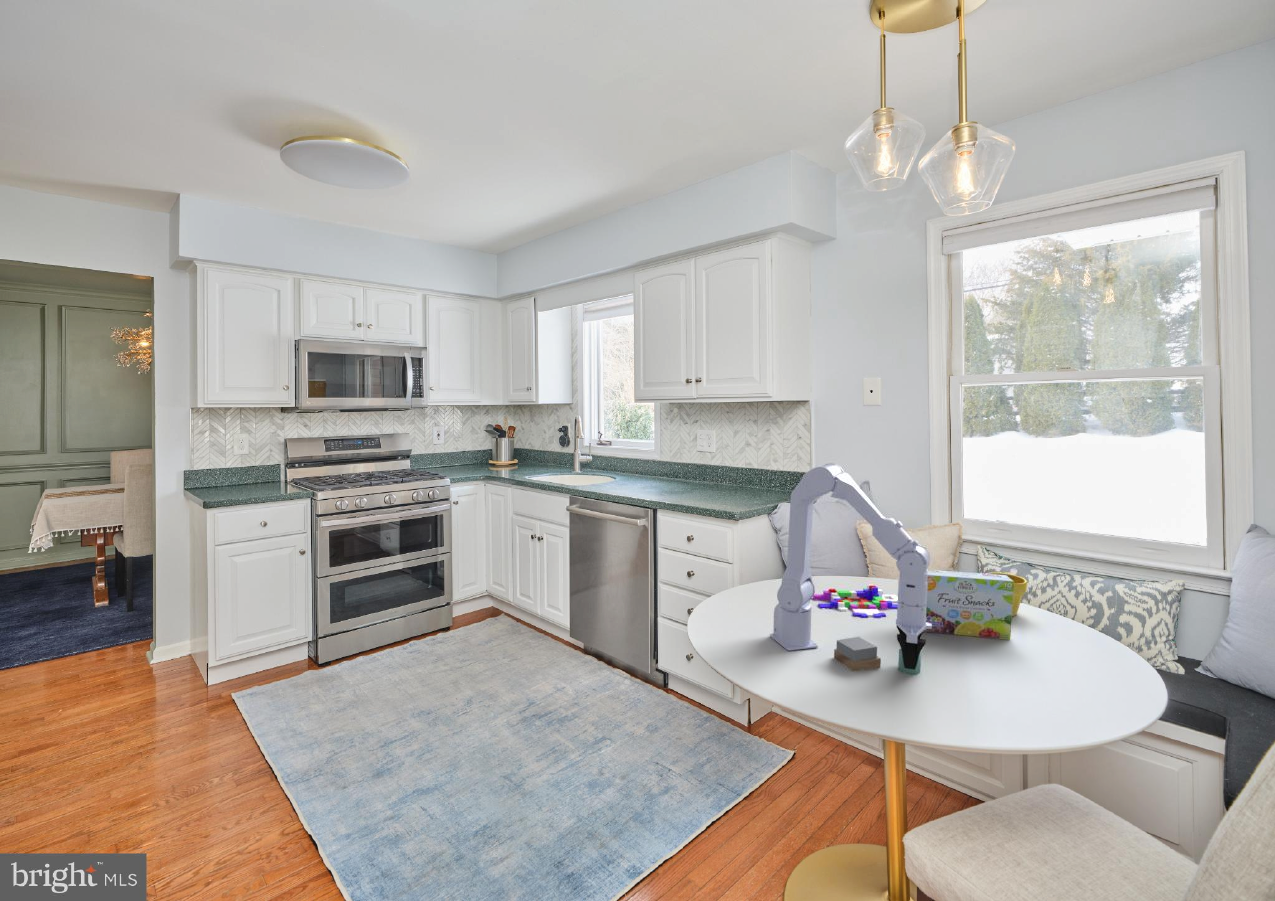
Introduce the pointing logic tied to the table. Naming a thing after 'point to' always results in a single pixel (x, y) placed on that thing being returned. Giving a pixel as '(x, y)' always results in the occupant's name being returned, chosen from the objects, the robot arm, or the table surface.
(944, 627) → the snack box
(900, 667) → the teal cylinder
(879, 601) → the building block set
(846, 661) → the walnut base block
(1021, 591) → the plant pot
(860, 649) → the grey top block
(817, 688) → the table surface
